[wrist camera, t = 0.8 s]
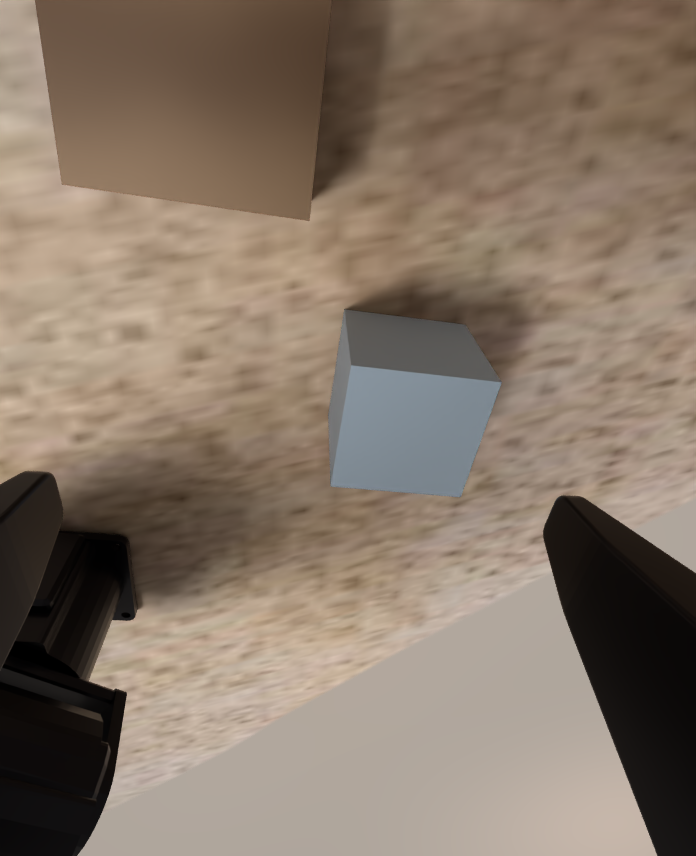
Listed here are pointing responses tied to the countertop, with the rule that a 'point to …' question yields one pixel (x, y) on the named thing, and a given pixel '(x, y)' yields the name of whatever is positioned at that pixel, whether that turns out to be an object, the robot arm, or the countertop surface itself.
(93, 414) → the countertop surface
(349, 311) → the slate cube
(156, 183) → the walnut slab
